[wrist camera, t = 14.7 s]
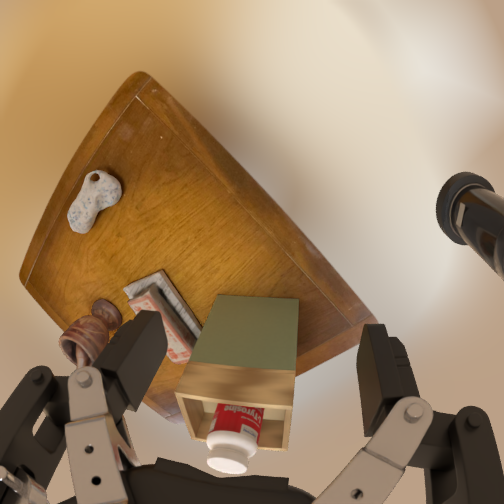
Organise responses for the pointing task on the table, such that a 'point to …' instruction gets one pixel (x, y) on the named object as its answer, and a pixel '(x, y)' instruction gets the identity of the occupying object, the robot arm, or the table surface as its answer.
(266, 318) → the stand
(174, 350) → the packaged product
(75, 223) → the decorative stone
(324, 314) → the table surface
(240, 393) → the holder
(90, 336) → the mortar and pestle
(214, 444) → the pill bottle
